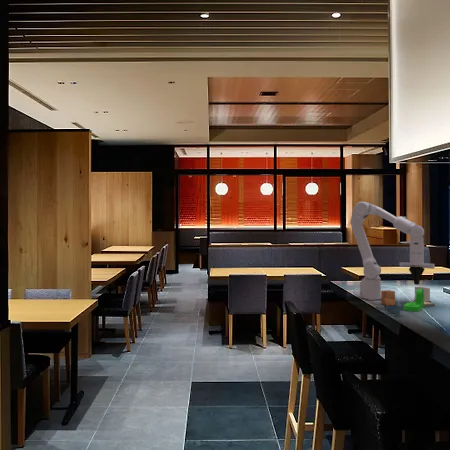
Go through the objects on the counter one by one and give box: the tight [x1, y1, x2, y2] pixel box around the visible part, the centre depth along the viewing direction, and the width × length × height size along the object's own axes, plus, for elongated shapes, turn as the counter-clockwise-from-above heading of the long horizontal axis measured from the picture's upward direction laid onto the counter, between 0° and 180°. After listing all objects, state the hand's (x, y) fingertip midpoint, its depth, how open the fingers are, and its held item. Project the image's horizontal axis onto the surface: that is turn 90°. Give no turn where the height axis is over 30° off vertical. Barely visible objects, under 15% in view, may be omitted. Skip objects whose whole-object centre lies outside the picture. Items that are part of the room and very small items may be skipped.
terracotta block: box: [380, 289, 396, 307], centre depth 216 cm, size 4×4×6 cm
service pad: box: [424, 302, 436, 308], centre depth 215 cm, size 8×6×1 cm
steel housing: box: [413, 286, 432, 303], centre depth 223 cm, size 7×4×6 cm, turn 19°
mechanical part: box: [403, 289, 425, 313], centre depth 206 cm, size 12×6×8 cm, turn 149°
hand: (416, 284), depth 222 cm, fingers closed
